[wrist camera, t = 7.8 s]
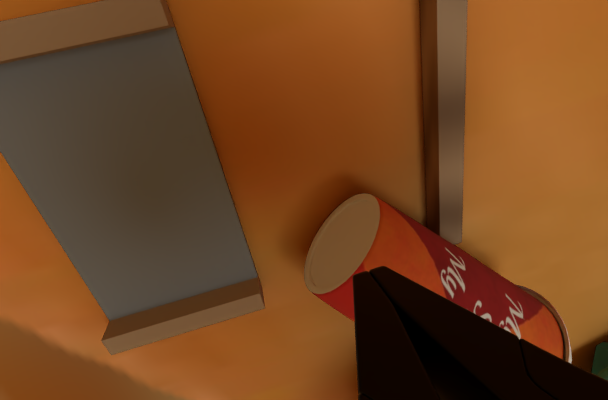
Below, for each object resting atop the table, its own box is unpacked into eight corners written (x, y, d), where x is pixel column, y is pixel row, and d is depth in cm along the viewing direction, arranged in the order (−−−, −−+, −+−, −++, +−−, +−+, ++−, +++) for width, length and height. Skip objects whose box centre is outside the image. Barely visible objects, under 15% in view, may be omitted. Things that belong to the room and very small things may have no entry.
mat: (262, 288, 22) (264, 308, 20) (120, 331, 21) (111, 355, 19) (164, -5, 14) (156, -11, 13) (-64, 42, 13) (-104, 42, 12)
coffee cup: (428, 222, 13) (622, 368, 17) (370, 155, 20) (517, 270, 25) (293, 357, 15) (497, 452, 20) (286, 252, 22) (435, 340, 27)
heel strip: (448, 230, 23) (461, 242, 21) (427, 236, 23) (440, 248, 21) (448, -57, 15) (469, -67, 14) (417, -52, 15) (436, -60, 14)
